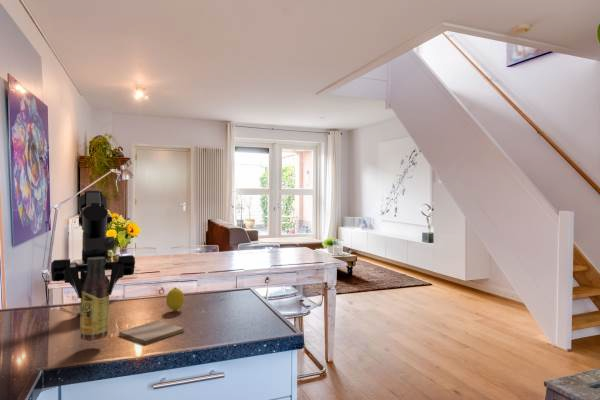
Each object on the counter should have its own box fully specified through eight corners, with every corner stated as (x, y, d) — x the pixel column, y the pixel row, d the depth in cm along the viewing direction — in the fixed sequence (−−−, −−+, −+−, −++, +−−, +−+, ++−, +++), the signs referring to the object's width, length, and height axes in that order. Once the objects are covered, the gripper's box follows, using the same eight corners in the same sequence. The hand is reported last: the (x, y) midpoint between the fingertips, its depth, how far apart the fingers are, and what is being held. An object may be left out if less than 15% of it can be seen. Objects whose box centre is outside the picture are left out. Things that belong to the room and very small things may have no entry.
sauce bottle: (75, 337, 93) (76, 257, 93) (102, 331, 97) (102, 254, 97) (86, 344, 88) (86, 260, 88) (113, 337, 93) (113, 257, 93)
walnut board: (119, 335, 102) (119, 331, 102) (158, 323, 112) (158, 320, 112) (145, 344, 95) (145, 340, 95) (184, 331, 105) (184, 328, 105)
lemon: (178, 314, 121) (178, 289, 122) (163, 313, 123) (163, 288, 123) (186, 309, 127) (187, 286, 127) (172, 308, 128) (172, 285, 128)
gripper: (51, 227, 92) (47, 280, 82) (134, 225, 101) (139, 273, 91) (53, 255, 98) (50, 307, 89) (131, 250, 108) (135, 297, 98)
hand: (95, 295), depth 92 cm, fingers closed on sauce bottle, 6 cm apart
